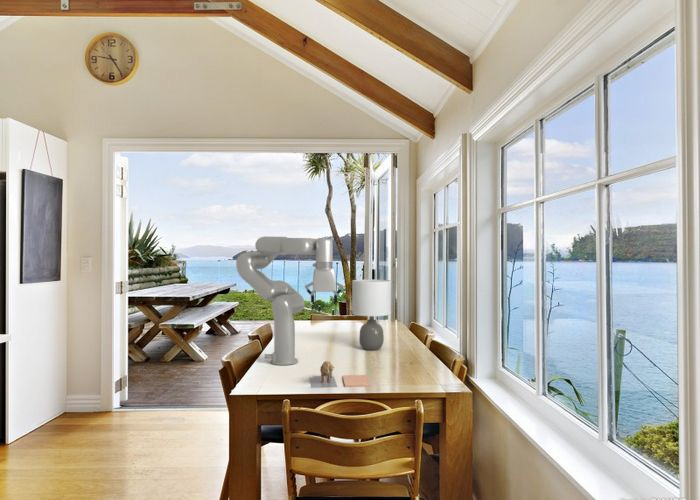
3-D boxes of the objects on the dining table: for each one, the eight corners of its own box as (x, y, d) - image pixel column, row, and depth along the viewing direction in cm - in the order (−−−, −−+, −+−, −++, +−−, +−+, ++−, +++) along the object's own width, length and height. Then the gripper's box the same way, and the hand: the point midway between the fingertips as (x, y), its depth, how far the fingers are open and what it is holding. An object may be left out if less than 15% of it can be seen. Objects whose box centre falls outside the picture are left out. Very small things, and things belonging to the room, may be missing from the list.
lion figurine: (334, 385, 193) (334, 361, 194) (320, 385, 193) (320, 362, 193) (332, 375, 208) (332, 354, 208) (319, 376, 208) (319, 354, 208)
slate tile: (311, 391, 189) (311, 387, 189) (309, 380, 205) (309, 377, 205) (337, 390, 191) (337, 387, 191) (333, 379, 207) (333, 376, 207)
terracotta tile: (345, 388, 191) (345, 385, 191) (342, 378, 207) (342, 375, 207) (371, 388, 191) (371, 385, 191) (366, 377, 207) (366, 374, 207)
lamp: (345, 347, 271) (345, 280, 271) (377, 344, 281) (377, 279, 281) (364, 354, 253) (365, 282, 253) (398, 350, 263) (398, 281, 263)
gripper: (304, 266, 219) (304, 305, 219) (344, 266, 220) (344, 305, 220) (304, 265, 226) (304, 303, 226) (342, 265, 228) (342, 303, 228)
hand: (324, 304), depth 223 cm, fingers open, 9 cm apart
